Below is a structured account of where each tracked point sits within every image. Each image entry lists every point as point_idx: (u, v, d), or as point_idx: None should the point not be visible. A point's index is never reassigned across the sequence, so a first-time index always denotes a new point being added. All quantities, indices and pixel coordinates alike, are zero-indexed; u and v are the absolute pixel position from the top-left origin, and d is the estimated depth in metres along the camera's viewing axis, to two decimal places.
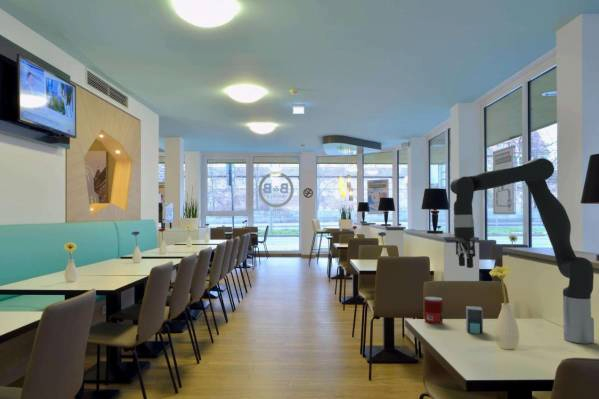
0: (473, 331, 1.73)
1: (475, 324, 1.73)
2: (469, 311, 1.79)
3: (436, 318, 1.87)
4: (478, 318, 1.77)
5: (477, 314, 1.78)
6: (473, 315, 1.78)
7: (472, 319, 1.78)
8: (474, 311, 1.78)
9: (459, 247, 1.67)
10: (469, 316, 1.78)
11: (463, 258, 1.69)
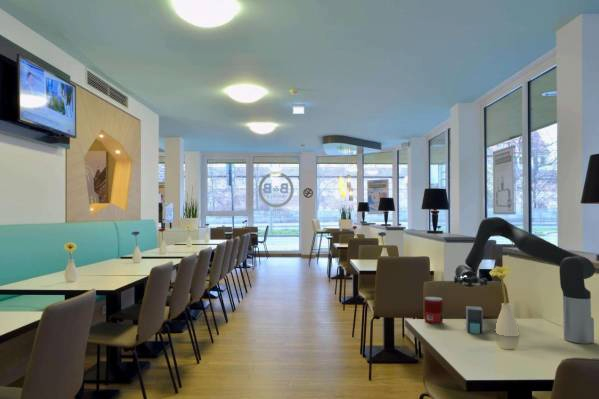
0: (473, 331, 1.73)
1: (475, 324, 1.73)
2: (469, 311, 1.79)
3: (436, 318, 1.87)
4: (478, 318, 1.77)
5: (477, 314, 1.78)
6: (473, 315, 1.78)
7: (472, 319, 1.78)
8: (474, 311, 1.78)
9: (473, 284, 1.93)
10: (469, 316, 1.78)
11: (480, 280, 1.88)
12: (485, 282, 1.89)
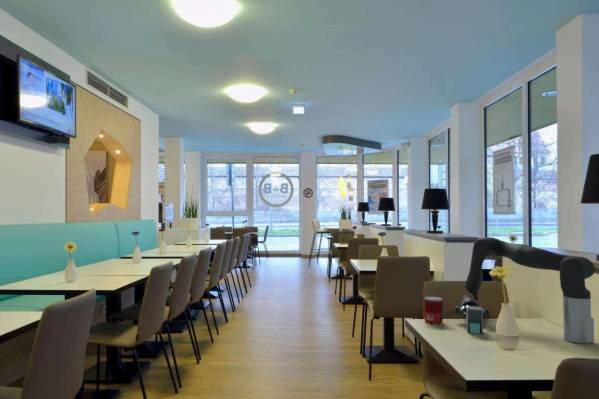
0: (473, 331, 1.73)
1: (475, 324, 1.73)
2: (469, 311, 1.79)
3: (436, 318, 1.87)
4: (478, 318, 1.77)
5: (477, 314, 1.78)
6: (473, 315, 1.78)
7: (472, 319, 1.78)
8: (474, 311, 1.78)
9: None
10: (469, 316, 1.78)
11: None
12: (487, 313, 1.84)
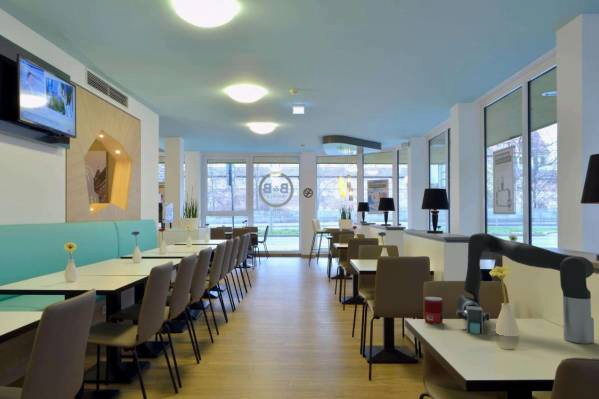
0: (473, 331, 1.73)
1: (475, 324, 1.73)
2: (469, 311, 1.79)
3: (436, 318, 1.87)
4: (478, 318, 1.77)
5: (477, 314, 1.78)
6: (473, 315, 1.78)
7: (472, 319, 1.78)
8: (474, 311, 1.78)
9: None
10: (469, 316, 1.78)
11: None
12: (487, 317, 1.76)
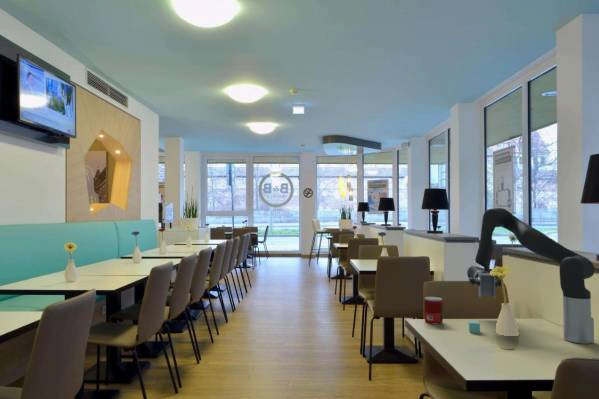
0: (473, 331, 1.73)
1: (475, 324, 1.73)
2: (481, 278, 1.84)
3: (436, 318, 1.87)
4: (490, 284, 1.82)
5: (489, 280, 1.83)
6: (485, 281, 1.83)
7: (484, 285, 1.83)
8: (486, 277, 1.83)
9: None
10: (481, 282, 1.84)
11: None
12: (499, 283, 1.81)
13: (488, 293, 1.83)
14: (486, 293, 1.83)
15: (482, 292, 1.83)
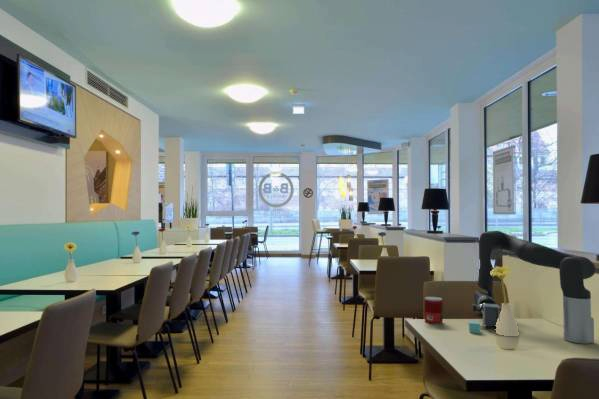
0: (473, 331, 1.73)
1: (475, 324, 1.73)
2: (486, 308, 1.85)
3: (436, 318, 1.87)
4: (494, 315, 1.83)
5: (493, 311, 1.84)
6: (489, 312, 1.84)
7: (489, 316, 1.84)
8: (490, 308, 1.84)
9: None
10: (486, 313, 1.85)
11: (500, 309, 1.82)
12: None
13: (492, 324, 1.83)
14: (490, 324, 1.84)
15: (486, 323, 1.84)
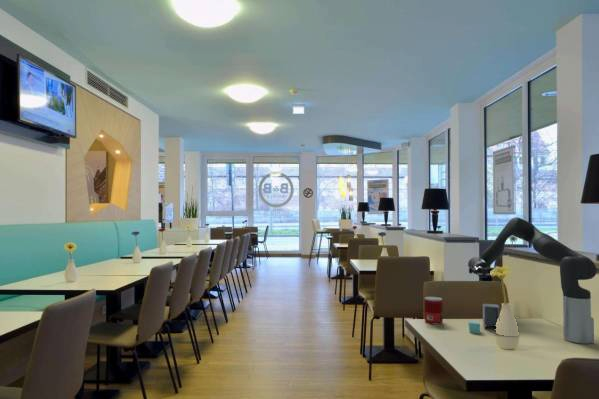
0: (473, 331, 1.73)
1: (475, 324, 1.73)
2: (486, 308, 1.85)
3: (436, 318, 1.87)
4: (494, 315, 1.83)
5: (493, 311, 1.84)
6: (489, 312, 1.84)
7: (489, 316, 1.84)
8: (490, 308, 1.84)
9: (487, 274, 1.99)
10: (486, 313, 1.85)
11: None
12: None
13: (492, 324, 1.83)
14: (490, 324, 1.84)
15: (486, 323, 1.84)
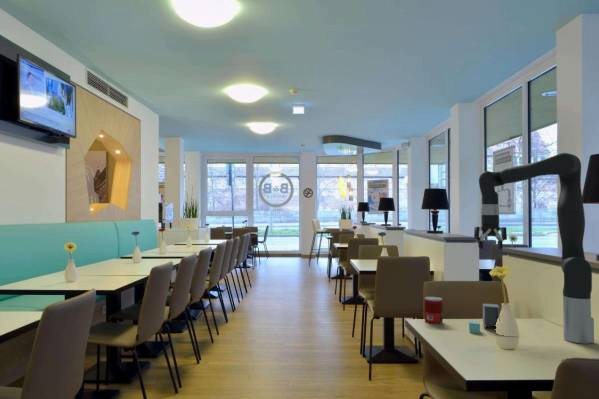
0: (473, 331, 1.73)
1: (475, 324, 1.73)
2: (486, 308, 1.85)
3: (436, 318, 1.87)
4: (494, 315, 1.83)
5: (493, 311, 1.84)
6: (489, 312, 1.84)
7: (489, 316, 1.84)
8: (490, 308, 1.84)
9: None
10: (486, 313, 1.85)
11: (499, 242, 1.91)
12: None
13: (492, 324, 1.83)
14: (490, 324, 1.84)
15: (486, 323, 1.84)
